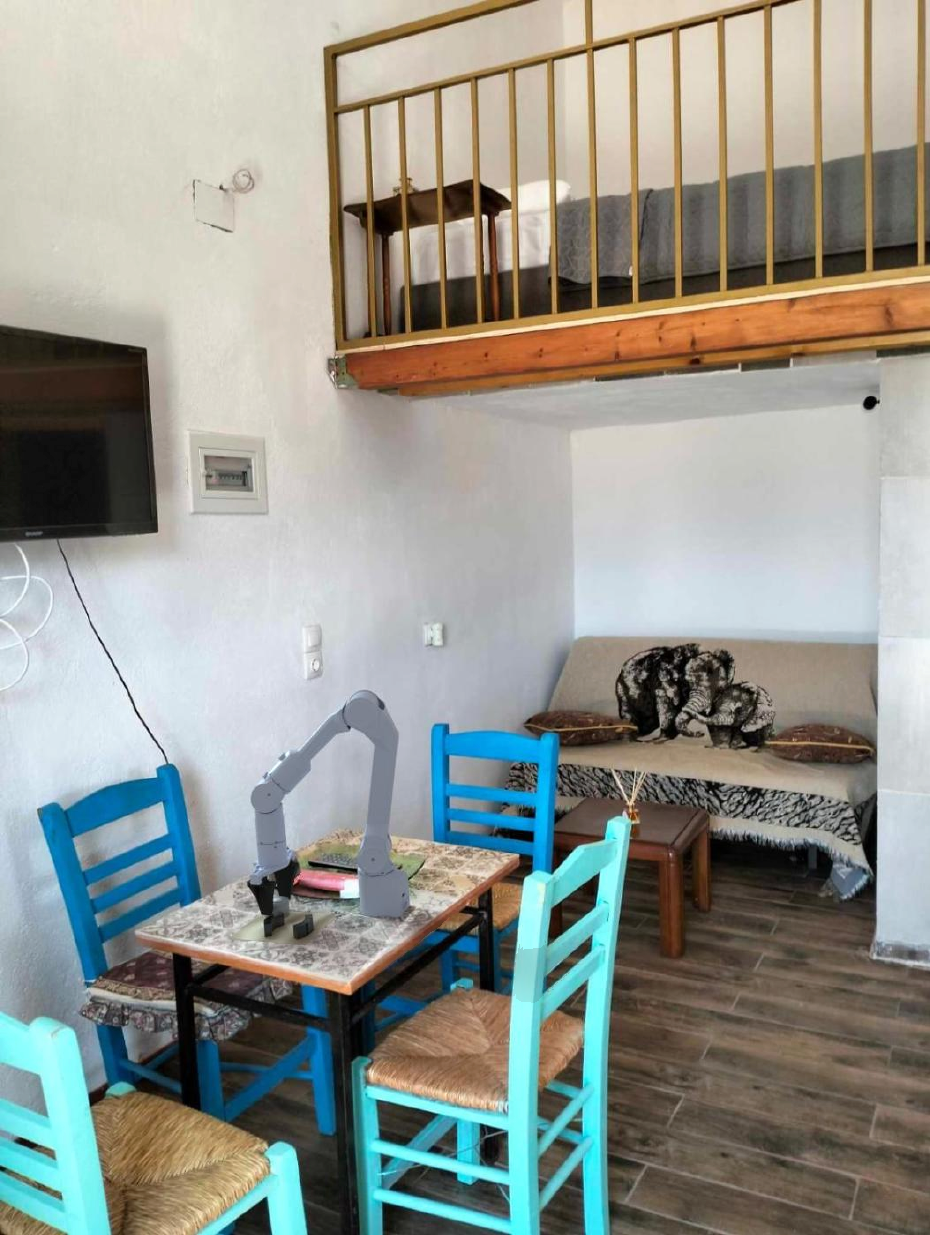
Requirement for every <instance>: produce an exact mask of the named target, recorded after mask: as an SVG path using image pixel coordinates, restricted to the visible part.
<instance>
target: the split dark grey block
mask: <svg viewBox="0 0 930 1235" xmlns="http://www.w3.org/2000/svg"><path fill="white" fill-rule="evenodd" d="M263 924H264V936H265V937H269V936H272V932H273V931H274V930H275V929H276V928H279V927H281V926H284V925H285V921H284V913H282V912H277V913H274V914H271V915H269V916H268V917H267V918H265V919H264V921H263ZM313 930H314V925H313V915H312V914H307V915H305V919H304V920H303V921H302V922H300V923H298V924H295V925H293V937H294V938H295V939H297V940H298V939H301V938H304V937H306V936H307V935H309V934H311V933H312V932H313Z"/></svg>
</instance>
